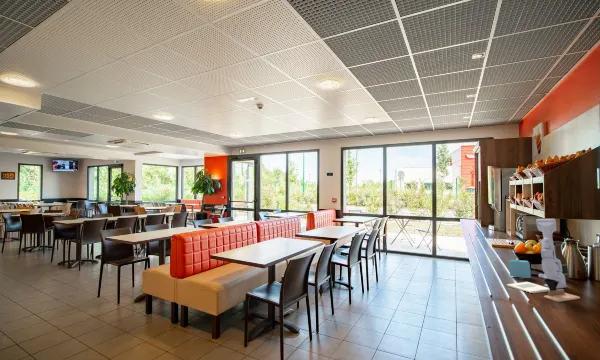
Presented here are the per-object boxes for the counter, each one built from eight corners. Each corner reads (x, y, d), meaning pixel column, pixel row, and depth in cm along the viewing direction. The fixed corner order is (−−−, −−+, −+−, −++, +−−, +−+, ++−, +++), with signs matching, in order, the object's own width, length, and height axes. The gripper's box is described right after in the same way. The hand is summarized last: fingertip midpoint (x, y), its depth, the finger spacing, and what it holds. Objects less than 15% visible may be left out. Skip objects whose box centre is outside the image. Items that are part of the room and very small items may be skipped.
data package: (531, 277, 216) (529, 260, 217) (530, 279, 213) (528, 262, 214) (511, 275, 224) (509, 259, 225) (510, 277, 221) (508, 260, 222)
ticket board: (527, 283, 204) (526, 281, 205) (553, 290, 187) (552, 288, 187) (506, 285, 202) (506, 284, 202) (530, 293, 184) (530, 291, 184)
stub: (565, 294, 179) (564, 288, 179) (580, 298, 171) (579, 292, 171) (544, 297, 176) (543, 291, 177) (557, 301, 168) (556, 295, 169)
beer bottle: (566, 278, 209) (561, 243, 211) (572, 281, 202) (567, 245, 203) (552, 278, 211) (548, 243, 213) (558, 281, 204) (553, 245, 206)
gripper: (533, 267, 186) (536, 289, 185) (556, 272, 172) (559, 296, 171) (543, 266, 187) (545, 288, 186) (566, 271, 173) (570, 295, 172)
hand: (553, 292), depth 178 cm, fingers closed
